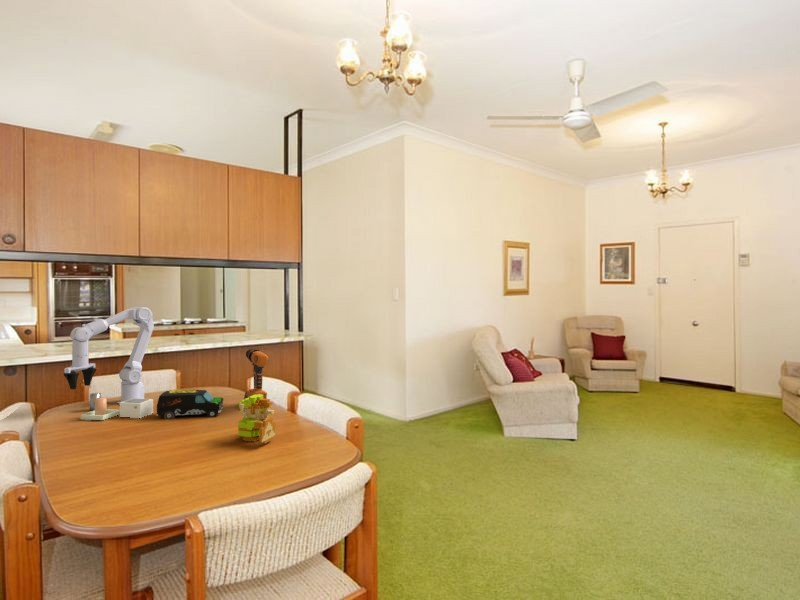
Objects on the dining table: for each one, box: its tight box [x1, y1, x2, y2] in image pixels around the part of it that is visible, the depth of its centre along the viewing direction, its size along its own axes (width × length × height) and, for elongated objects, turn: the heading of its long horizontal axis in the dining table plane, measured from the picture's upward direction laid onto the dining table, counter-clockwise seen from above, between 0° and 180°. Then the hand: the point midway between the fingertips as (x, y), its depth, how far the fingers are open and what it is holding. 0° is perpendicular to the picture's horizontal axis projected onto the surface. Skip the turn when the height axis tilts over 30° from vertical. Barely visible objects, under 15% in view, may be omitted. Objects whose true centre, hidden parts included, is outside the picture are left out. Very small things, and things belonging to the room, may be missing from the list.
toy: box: [237, 394, 276, 444], centre depth 164 cm, size 15×14×15 cm
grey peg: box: [89, 392, 102, 412], centre depth 200 cm, size 4×4×7 cm
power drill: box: [243, 348, 270, 400], centre depth 213 cm, size 22×7×25 cm, turn 35°
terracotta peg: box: [95, 396, 108, 415], centre depth 189 cm, size 4×4×7 cm
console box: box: [119, 398, 154, 419], centre depth 192 cm, size 8×9×6 cm
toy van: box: [155, 389, 224, 420], centre depth 194 cm, size 11×25×10 cm, turn 103°
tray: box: [80, 408, 120, 421], centre depth 189 cm, size 10×10×2 cm
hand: (80, 387), depth 199 cm, fingers open, 7 cm apart
